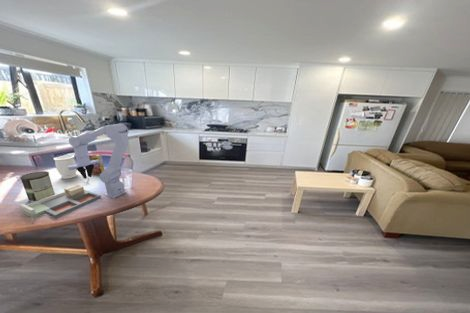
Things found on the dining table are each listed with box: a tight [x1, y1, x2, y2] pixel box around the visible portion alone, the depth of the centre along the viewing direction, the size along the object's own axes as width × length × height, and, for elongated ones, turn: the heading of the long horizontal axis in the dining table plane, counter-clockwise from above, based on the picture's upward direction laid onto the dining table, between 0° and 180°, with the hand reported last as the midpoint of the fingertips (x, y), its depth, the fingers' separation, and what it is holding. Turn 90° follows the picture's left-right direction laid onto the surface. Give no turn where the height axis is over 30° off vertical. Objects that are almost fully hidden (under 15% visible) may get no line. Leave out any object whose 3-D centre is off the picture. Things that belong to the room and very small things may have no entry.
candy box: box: [88, 153, 105, 175], centre depth 127 cm, size 9×4×15 cm, turn 98°
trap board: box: [19, 189, 102, 220], centre depth 90 cm, size 20×24×4 cm
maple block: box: [63, 184, 85, 197], centre depth 97 cm, size 6×6×4 cm
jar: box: [53, 154, 78, 180], centre depth 121 cm, size 11×10×15 cm
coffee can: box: [19, 170, 56, 203], centre depth 94 cm, size 10×10×14 cm
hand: (87, 177), depth 102 cm, fingers closed
